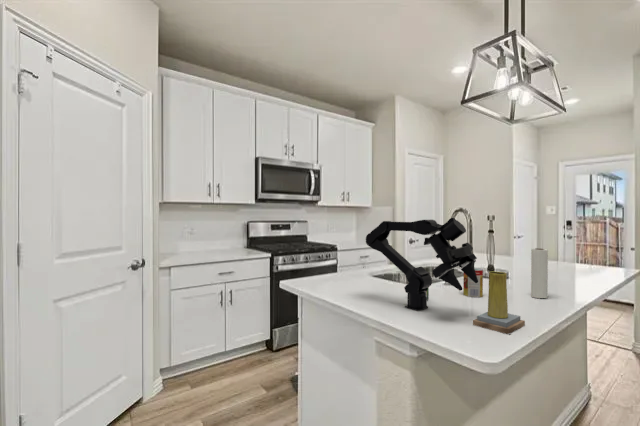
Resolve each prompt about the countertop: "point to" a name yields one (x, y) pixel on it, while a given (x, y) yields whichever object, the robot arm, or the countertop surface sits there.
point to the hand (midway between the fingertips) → (469, 286)
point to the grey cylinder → (539, 273)
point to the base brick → (499, 328)
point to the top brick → (499, 320)
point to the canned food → (474, 285)
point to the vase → (497, 295)
